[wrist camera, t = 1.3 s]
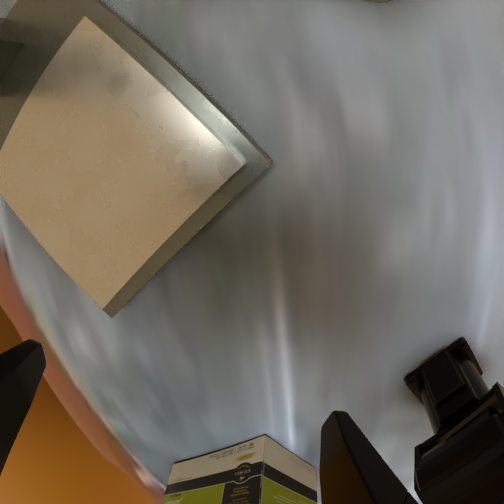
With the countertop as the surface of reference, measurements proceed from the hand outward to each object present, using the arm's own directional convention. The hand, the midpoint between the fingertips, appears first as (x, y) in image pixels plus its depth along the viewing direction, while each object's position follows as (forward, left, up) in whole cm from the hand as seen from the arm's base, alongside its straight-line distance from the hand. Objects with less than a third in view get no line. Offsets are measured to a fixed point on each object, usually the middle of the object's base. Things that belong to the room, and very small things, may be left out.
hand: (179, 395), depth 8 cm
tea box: (-21, +20, -14) cm, 32 cm away
